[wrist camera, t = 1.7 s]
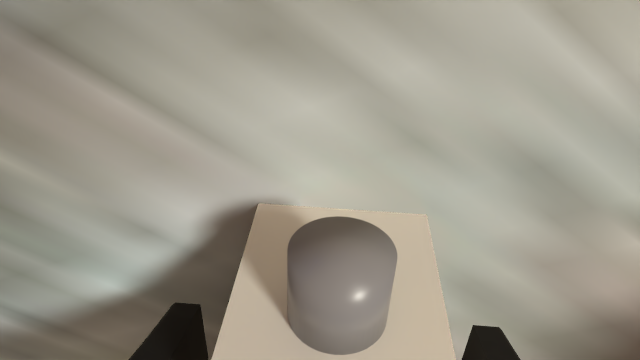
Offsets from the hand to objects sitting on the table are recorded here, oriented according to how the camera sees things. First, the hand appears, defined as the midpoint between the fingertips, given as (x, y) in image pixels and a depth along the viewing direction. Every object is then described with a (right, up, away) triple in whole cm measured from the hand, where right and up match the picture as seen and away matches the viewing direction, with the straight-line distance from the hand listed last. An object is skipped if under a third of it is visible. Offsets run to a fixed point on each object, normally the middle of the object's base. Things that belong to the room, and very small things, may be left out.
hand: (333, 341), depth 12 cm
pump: (0, +1, +1) cm, 2 cm away
